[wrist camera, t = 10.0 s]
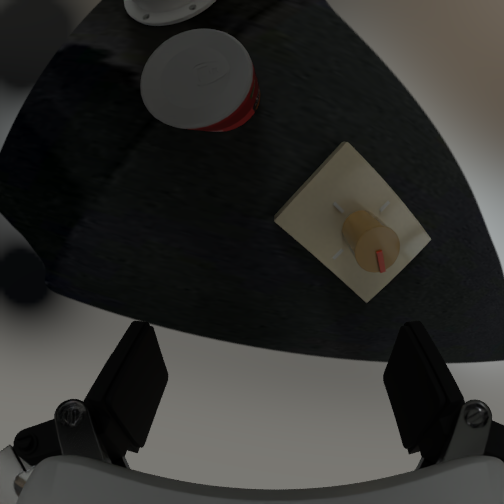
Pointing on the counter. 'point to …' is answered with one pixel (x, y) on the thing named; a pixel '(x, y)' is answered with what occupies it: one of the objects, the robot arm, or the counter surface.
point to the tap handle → (370, 241)
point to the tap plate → (339, 208)
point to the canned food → (201, 82)
